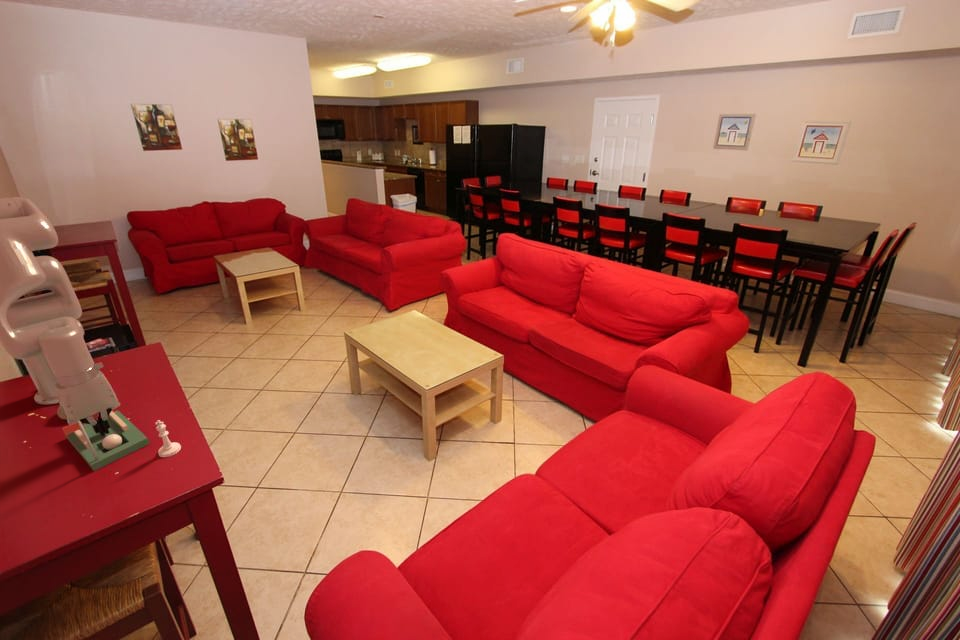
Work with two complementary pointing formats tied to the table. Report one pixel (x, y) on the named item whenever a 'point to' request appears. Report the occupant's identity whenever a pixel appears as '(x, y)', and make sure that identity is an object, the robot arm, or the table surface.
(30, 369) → the robot arm
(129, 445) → the mat
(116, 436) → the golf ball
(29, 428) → the table surface
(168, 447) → the chess piece
